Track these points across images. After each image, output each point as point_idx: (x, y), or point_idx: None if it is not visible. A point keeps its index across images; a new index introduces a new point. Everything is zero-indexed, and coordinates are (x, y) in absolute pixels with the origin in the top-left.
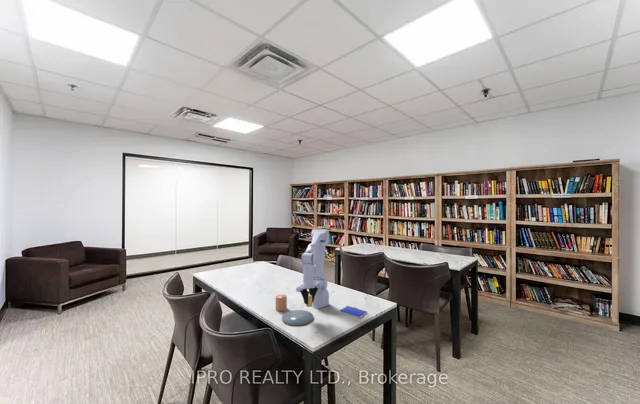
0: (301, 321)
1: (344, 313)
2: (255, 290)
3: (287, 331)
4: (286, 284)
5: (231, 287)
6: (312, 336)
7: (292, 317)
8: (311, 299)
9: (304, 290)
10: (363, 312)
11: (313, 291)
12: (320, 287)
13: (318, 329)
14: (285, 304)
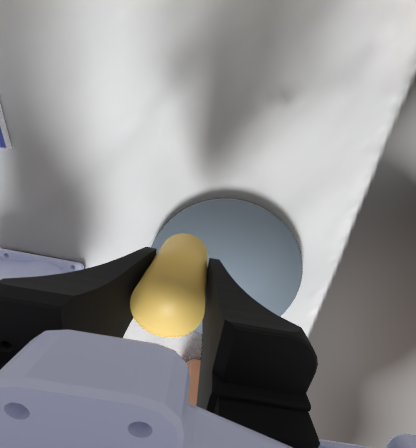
0: (254, 227)
1: (1, 109)
2: None
3: (352, 222)
4: None
5: None
6: (336, 80)
7: (246, 287)
8: (171, 257)
9: (280, 414)
10: None
11: (97, 308)
12: None
13: (253, 107)
14: (191, 384)
